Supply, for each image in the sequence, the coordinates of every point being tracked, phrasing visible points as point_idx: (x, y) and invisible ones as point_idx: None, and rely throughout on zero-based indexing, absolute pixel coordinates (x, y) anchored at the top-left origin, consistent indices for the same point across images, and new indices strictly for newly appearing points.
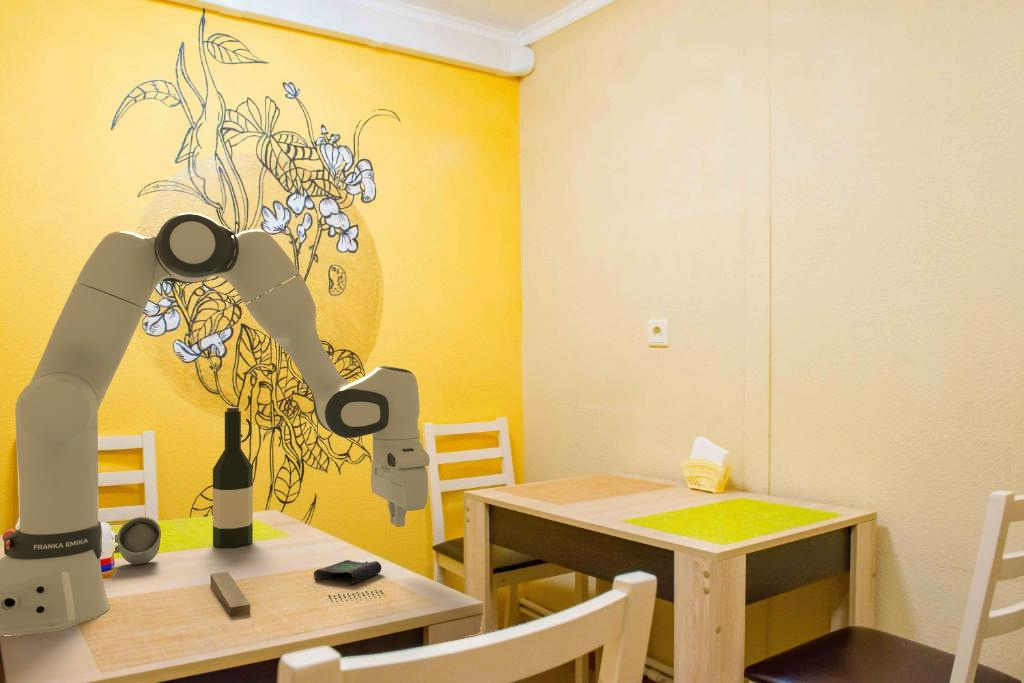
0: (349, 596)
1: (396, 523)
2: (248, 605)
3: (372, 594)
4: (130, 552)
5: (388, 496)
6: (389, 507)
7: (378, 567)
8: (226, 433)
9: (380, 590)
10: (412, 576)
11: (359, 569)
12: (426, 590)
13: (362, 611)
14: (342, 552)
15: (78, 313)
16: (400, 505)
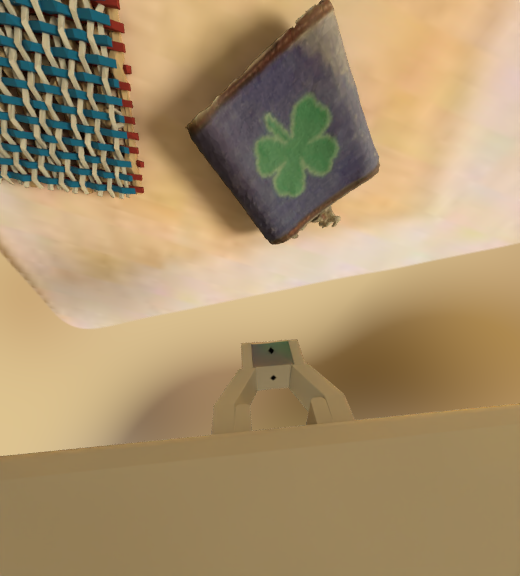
0: (81, 76)
1: (241, 351)
2: None
3: (87, 156)
4: None
5: (284, 460)
6: (318, 390)
7: (264, 234)
8: None
9: (120, 189)
10: (258, 290)
11: (230, 168)
12: (164, 287)
13: None
14: (508, 215)
15: None
16: (76, 460)
